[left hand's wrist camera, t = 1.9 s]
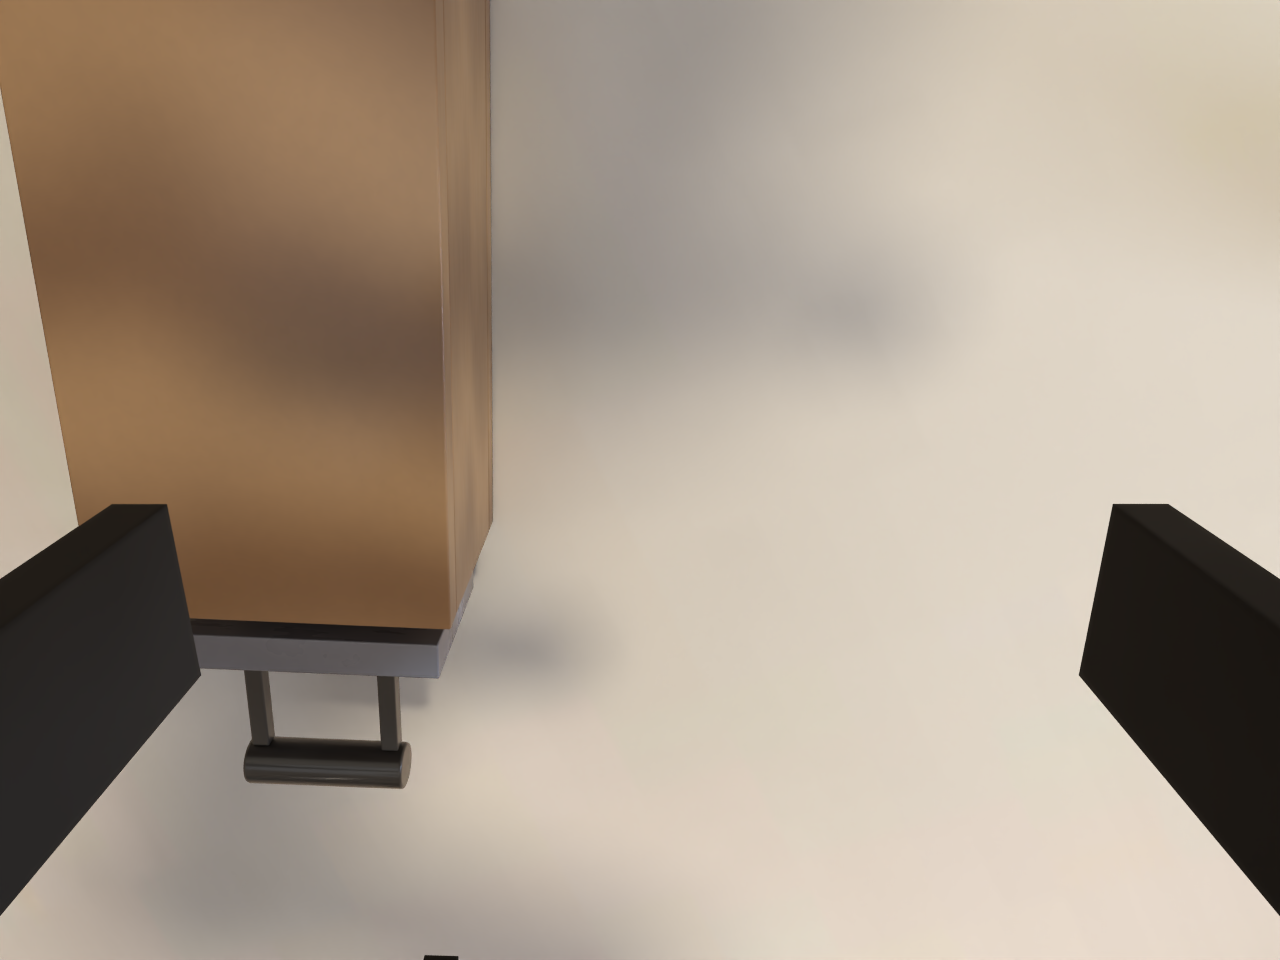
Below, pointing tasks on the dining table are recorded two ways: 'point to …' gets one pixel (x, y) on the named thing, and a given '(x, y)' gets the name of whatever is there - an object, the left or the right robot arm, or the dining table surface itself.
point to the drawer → (328, 654)
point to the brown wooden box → (269, 287)
